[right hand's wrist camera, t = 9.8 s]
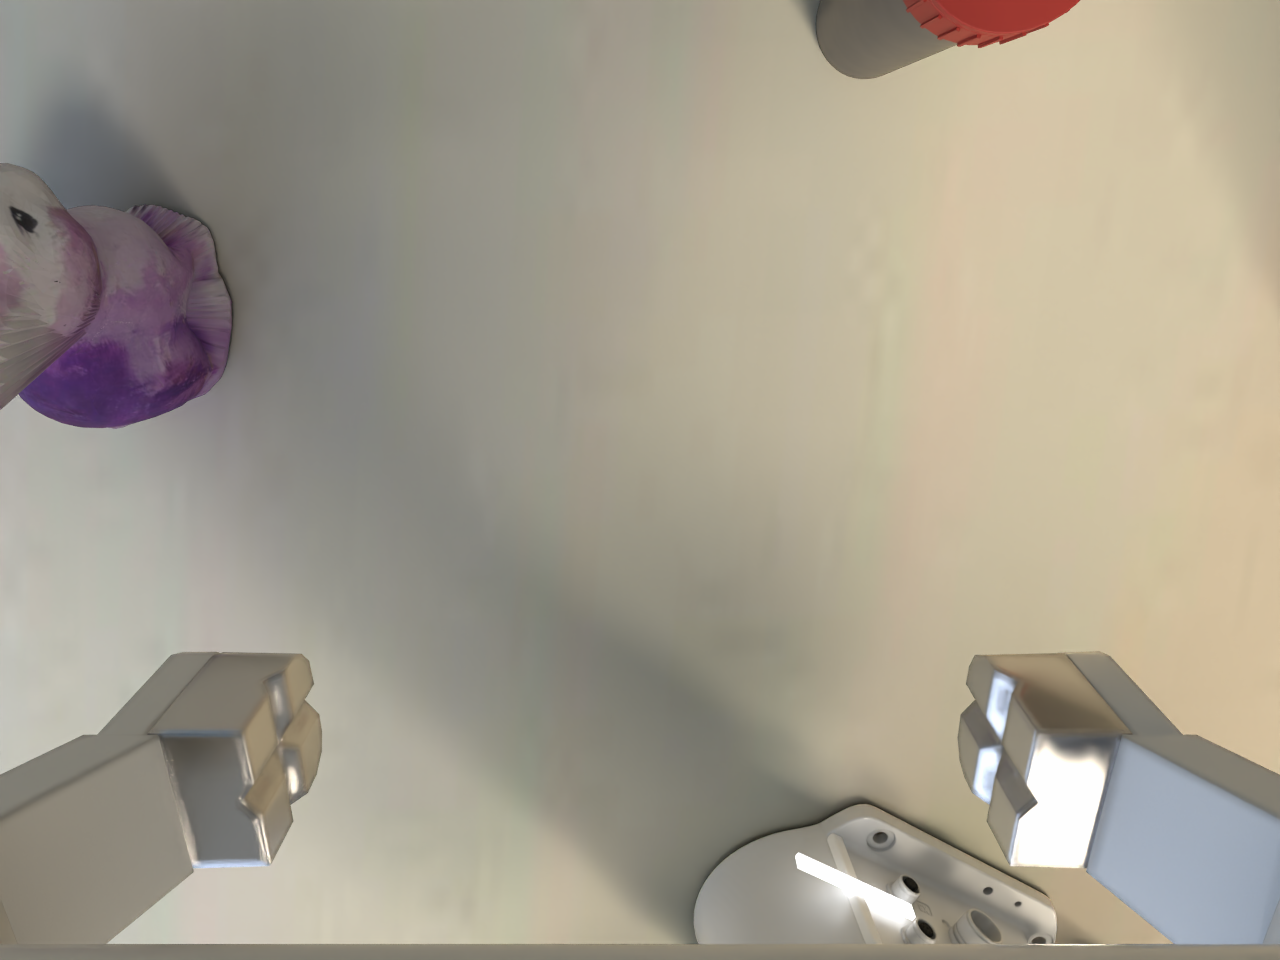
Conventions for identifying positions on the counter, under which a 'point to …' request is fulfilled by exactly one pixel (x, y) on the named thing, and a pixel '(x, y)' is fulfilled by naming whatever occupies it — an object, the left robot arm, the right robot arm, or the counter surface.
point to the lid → (985, 18)
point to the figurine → (105, 307)
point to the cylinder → (872, 37)
